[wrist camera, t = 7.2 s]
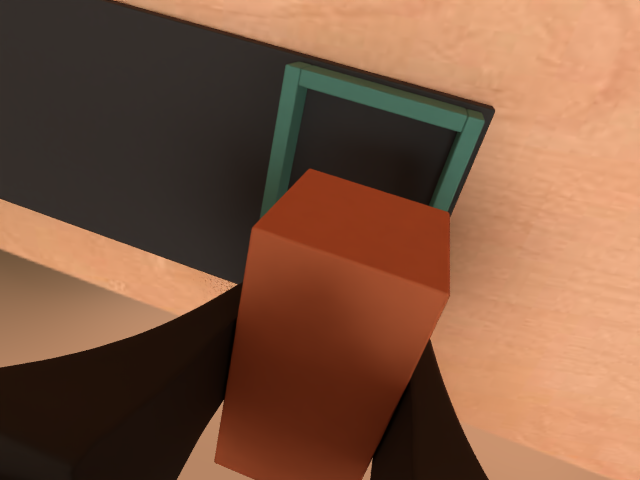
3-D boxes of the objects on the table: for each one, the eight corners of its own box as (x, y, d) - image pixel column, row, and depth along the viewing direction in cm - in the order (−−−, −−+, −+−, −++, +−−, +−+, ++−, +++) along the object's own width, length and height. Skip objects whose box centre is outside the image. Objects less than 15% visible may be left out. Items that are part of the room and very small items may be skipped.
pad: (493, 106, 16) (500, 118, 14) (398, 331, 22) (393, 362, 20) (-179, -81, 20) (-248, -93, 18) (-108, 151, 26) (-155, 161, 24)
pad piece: (450, 211, 11) (451, 295, 8) (367, 406, 15) (344, 518, 12) (309, 167, 12) (250, 226, 8) (264, 366, 16) (213, 463, 12)
